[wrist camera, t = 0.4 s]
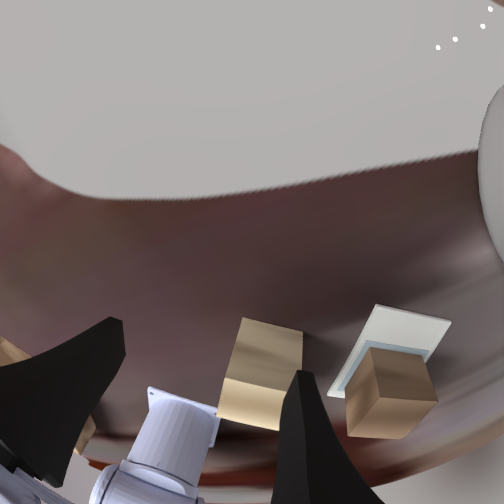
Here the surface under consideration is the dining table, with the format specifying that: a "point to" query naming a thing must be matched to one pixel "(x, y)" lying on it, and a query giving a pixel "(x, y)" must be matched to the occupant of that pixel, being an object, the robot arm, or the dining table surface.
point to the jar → (492, 167)
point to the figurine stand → (7, 353)
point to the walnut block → (388, 394)
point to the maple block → (260, 373)
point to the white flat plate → (392, 339)
